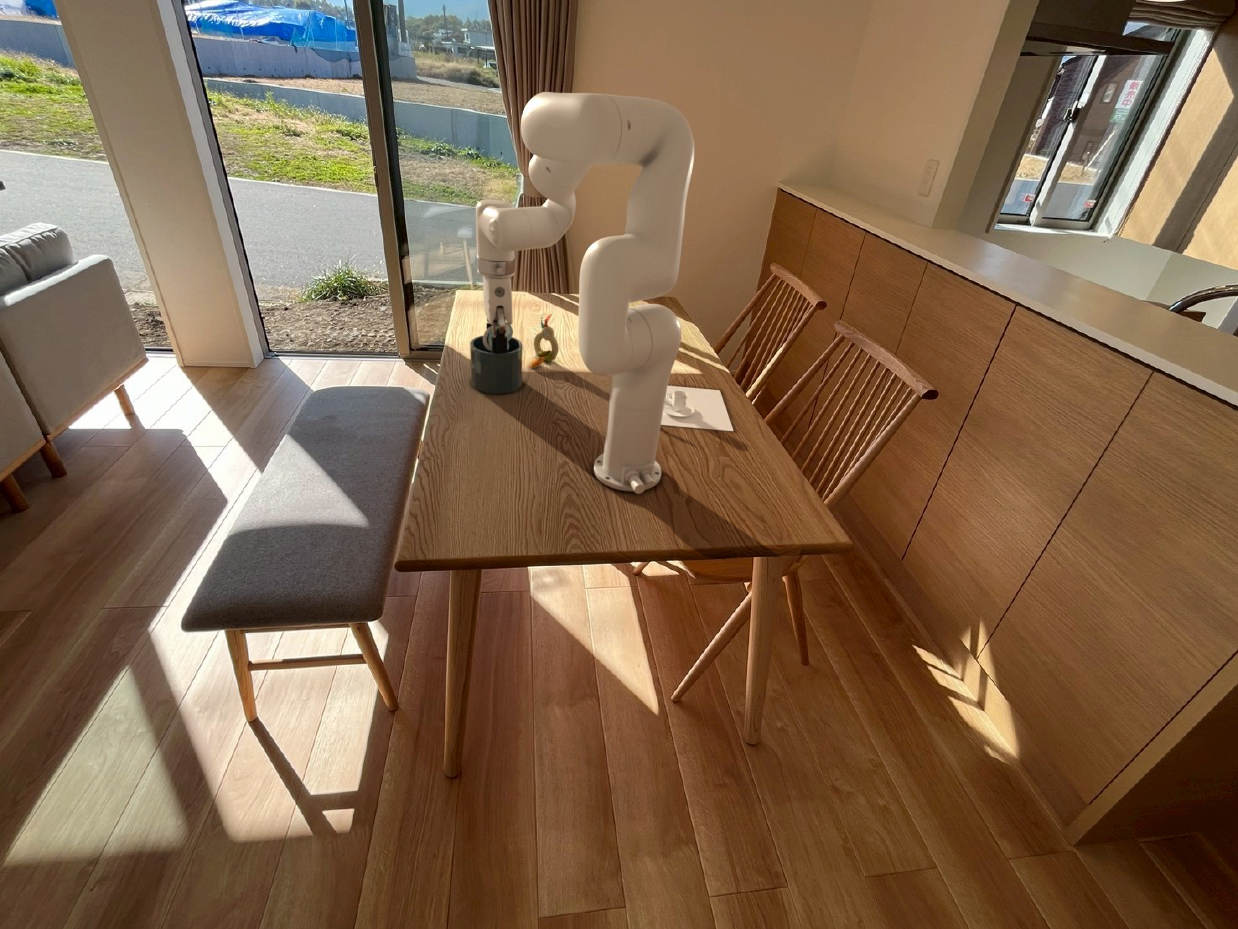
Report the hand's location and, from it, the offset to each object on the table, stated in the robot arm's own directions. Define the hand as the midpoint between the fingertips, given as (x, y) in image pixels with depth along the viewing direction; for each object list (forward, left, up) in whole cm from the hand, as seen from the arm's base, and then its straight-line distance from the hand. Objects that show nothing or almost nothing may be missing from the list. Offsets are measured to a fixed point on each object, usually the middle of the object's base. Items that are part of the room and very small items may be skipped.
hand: (496, 346), depth 131 cm
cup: (0, 0, -9) cm, 9 cm away
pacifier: (+1, 0, +1) cm, 1 cm away
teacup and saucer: (-16, -40, -9) cm, 44 cm away
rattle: (+11, -12, -9) cm, 19 cm away
